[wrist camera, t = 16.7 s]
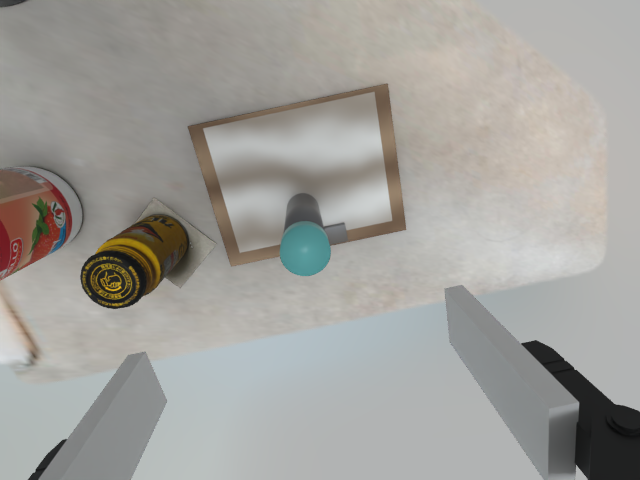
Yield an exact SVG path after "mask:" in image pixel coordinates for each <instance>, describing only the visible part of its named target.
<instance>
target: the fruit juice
mask: <svg viewBox="0 0 640 480" xmlns="http://www.w3.org/2000/svg"><path fill="white" fill-rule="evenodd" d="M81 224H82V208H81V204H80V201H79V199H78V197H77V195H76V194H75V192H74V191H73V189H72V188H71V187H70V186H69V185H68V184H67V183H66V182H65V181H64V180H63V179H61V178H60V177H58V176H57V175H55V174H53V173H51V172H49V171H47V170H44V169H40V168H36V167H27V166H19V167H10V168H4V169H0V280H2V279H4V278H6V277H8V276H9V275H11V274H13V273H15V272H17V271H19V270H21V269H23V268H24V267H26V266H28V265H30V264H32V263H34V262H36V261H38V260H39V259H41V258H43V257H45V256H47V255H49V254H51V253H53V252H54V251H56V250H58V249H60V248H62V247H64V246H65V245H67V244H68V243H69V242H70V241H72V240H73V239H74V237H75V236H76V235H77V233H78V232H79V230H80V227H81Z"/></svg>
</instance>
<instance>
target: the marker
mask: <svg viewBox="0 0 640 480" xmlns="http://www.w3.org/2000/svg"><path fill="white" fill-rule="evenodd" d="M330 254H331V249H330V245H329V241H328V237H327V234H326V232H325V230H324V226H323V221H322V217H321V213H320V209H319V205H318V202H317V201H316V199H315V198H314V197H313V196H311V195H309V194H306V193H300V194H297V195H295V196H293V197H292V198H291V199H290V200H289V202H288V204H287V210H286V218H285V225H284V233H283V236H282V239H281V245H280V258H281V261H282V263H283V265H284V266H285V267H286V268H287V269H288V270H289V271H290V272H292V273H294V274H296V275H300V276H310V275H314V274H316V273H318V272H320V271H321V270H323V269H324V268H325V266H326V265H327V263H328V262H329V259H330Z"/></svg>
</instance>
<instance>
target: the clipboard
mask: <svg viewBox="0 0 640 480" xmlns="http://www.w3.org/2000/svg"><path fill="white" fill-rule="evenodd" d="M188 129H189V132H190V135H191V139H192V142H193V145H194V148H195V152H196V155H197V158H198V161H199V164H200V168H201V171H202V174H203V177H204V181H205V184H206V187H207V190H208V193H209V197H210V200H211V203H212V206H213V210H214V213H215V216H216V219H217V223H218V226H219V229H220V232H221V235H222V239H223V242H224V245H225V248H226V252H227V255H228V258H229V261H230V264H231V266H236V265H241V264H245V263H250V262H255V261H260V260H264V259H269V258H274V257H279V256H280V245H281V239H282V236H283V233H284V225H285V218H286V210H287V204H288V202H289V200H290V199H291V198H292V197H293V196H295V195H297V194H300V193H306V194H309V195H311V196H313V197H314V198H315V199H316V201H317V202H318V205H319V209H320V213H321V217H322V221H323V226H324V230H325V232H326V234H327V237H328V241H329V245H330V246H331V245H336V244H341V243H345V242H350V241H355V240H360V239H364V238H369V237H374V236H379V235H383V234H388V233H393V232H398V231H402V230H406V224H405V216H404V208H403V200H402V192H401V184H400V177H399V169H398V161H397V153H396V145H395V137H394V129H393V121H392V114H391V106H390V98H389V90H388V84H384V85H379V86H374V87H370V88H365V89H360V90H356V91H351V92H346V93H342V94H337V95H332V96H328V97H323V98H318V99H314V100H309V101H304V102H300V103H295V104H290V105H286V106H281V107H276V108H272V109H267V110H262V111H258V112H253V113H248V114H244V115H239V116H234V117H230V118H225V119H220V120H216V121H211V122H206V123H202V124H197V125H192V126H188Z"/></svg>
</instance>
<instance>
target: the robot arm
mask: <svg viewBox="0 0 640 480" xmlns="http://www.w3.org/2000/svg"><path fill="white" fill-rule="evenodd" d="M23 1H25V0H0V6H9V5H13V4H17V3H20V2H23ZM445 299H446V309H447V320H448V330H449V339H450V343H451V345H452V346H453V348H454V349H455V351H456V352H457V354H458V355H459V356H460V358H461V360H462V361H463V362H464V364H465V365H466V367H467V368H468V370H469V371H470V373H471V374H472V375H473V377H474V379H475V380H476V381H477V383H478V384H479V386H480V387H481V389H482V390H483V392H484V393H485V395H486V396H487V398H488V399H489V400H490V402H491V403H492V405H493V406H494V408H495V409H496V411H497V412H498V414H499V415H500V417H501V418H502V419H503V421H504V422H505V424H506V425H507V427H508V428H509V430H510V431H511V433H512V434H513V435H514V437H515V438H516V440H517V441H518V443H519V444H520V446H521V447H522V449H523V450H524V452H525V453H526V455H527V456H528V457H529V459H530V460H531V461H532V463H533V465H534V466H535V468H536V469H537V471H538V472H539V473H540V475H541V476H542V478H543V479H544V480H575V476H576V465H577V466H578V467H579V469H580V470H581V471H582V472H583V473H584V475H585V476H586V477H587V478H588V480H640V412H639V411H637V410H635V409H632V408H629V407H626V406H621V405H615V404H614V403H613V402H612V401H611V400H609V399H608V398H607V397H606V396H605V395H604V394H603V393H602V392H600V391H599V390H598V389H597V388H596V387H595V386H594V385H593V384H592V383H590V382H589V381H588V380H587V379H586V378H585V377H584V376H583V375H582V374H580V373H579V372H578V371H577V370H574V367H573V366H571V365H570V364H569V363H568V362H567V361H565V360H564V358H562V357H561V356H560V355H559V354H558V353H557V352H556V351H554V349H552V348H550V347H549V346H547V345H545V344H543V343H540V342H538V341H536V340H535V341H531V342H526V343H519V341H517V340H516V338H515V337H514V336H513V335H511V333H510V332H509V331H508V330H507V329H506V328H504V326H503V325H501V324H500V322H499V321H497V320H496V318H495V317H494V316H493V315H491V314H490V312H488V310H487V309H486V308H485V307H484V306H483V305H482V304H481V303H480V302H479V301H478V300H477V299H476V298H475V297H474V296H473V295H472V294H471V293H470V292H469V291H468V290H467V289H466V288H465V287H464V286H463V285H460V286H455V287H450V288H445ZM166 403H167V399H166V397H165V395H164V393H163V390H162V388H161V386H160V383H159V381H158V379H157V377H156V375H155V372H154V370H153V368H152V365H151V363H150V361H149V358H148V356H147V354H146V352H141V353H136V354H131V355H128V356H127V358H126V359H125V360H124V362H123V363H122V364H121V366H120V367H119V369H118V370H117V371H116V373H115V374H114V376H113V377H112V378H111V380H110V381H109V382H108V384H107V385H106V387H105V388H104V389H103V391H102V392H101V393H100V395H99V396H98V398H97V399H96V400H95V402H94V403H93V405H92V406H91V407H90V409H89V410H88V412H87V413H86V414H85V416H84V417H83V418H82V420H81V421H80V423H79V424H78V425H77V427H76V428H75V429H74V431H73V432H72V434H71V435H70V436H69V438H68V439H65V440H62V441H61V442H60V443H59V444H58V445H57V446H56V447H55V448H54V449H52V450H51V451H50V452H49V453H48V454H47V455H46V456H45V458H44V459H43V461H42V462H41V463H40V464H39V466H38V467H37V469H36V472H35V473H33V474H32V475H31V476H30V478H29V479H28V480H131V478H132V476H133V474H134V472H135V469H136V467H137V465H138V463H139V461H140V459H141V457H142V454H143V452H144V450H145V448H146V446H147V443H148V442H149V439H150V437H151V435H152V433H153V431H154V429H155V426H156V424H157V422H158V420H159V418H160V415H161V414H162V411H163V409H164V407H165V405H166Z"/></svg>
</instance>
